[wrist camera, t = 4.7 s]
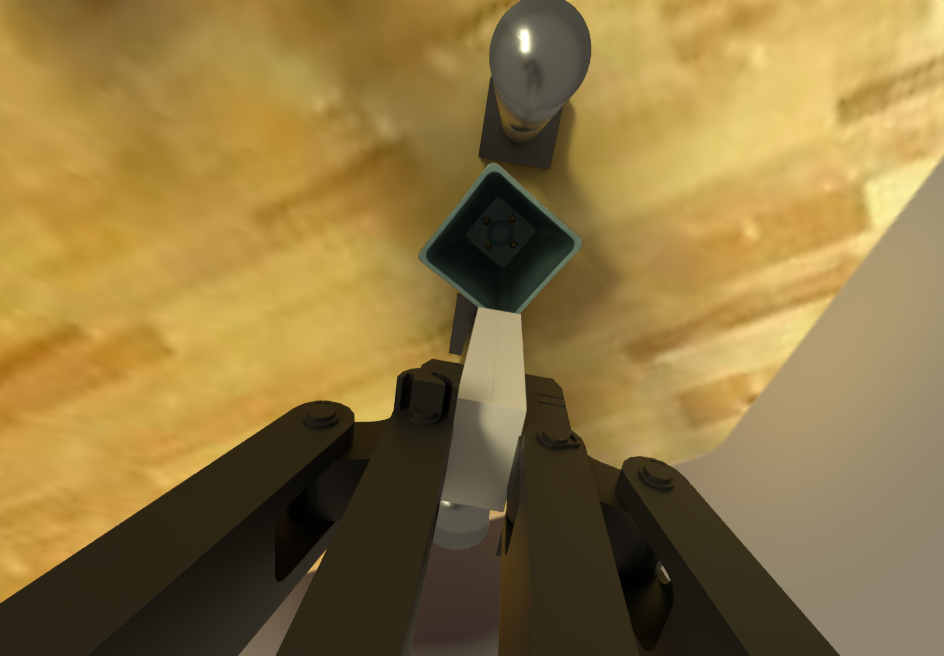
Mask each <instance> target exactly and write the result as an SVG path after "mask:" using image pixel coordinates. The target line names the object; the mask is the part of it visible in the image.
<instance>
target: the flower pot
mask: <svg viewBox="0 0 944 656" xmlns="http://www.w3.org/2000/svg"><path fill="white" fill-rule="evenodd" d="M511 216H513V217H514V218H515V220H514V221H513V222H510V221H509V217H511ZM486 218H488V219H489V224H485V223H484V219H486ZM512 242H516V247H511V243H512ZM487 244H491V246H492V247H491V249H487V248H486V245H487ZM582 245H583V241H582V239H581V238H580V236H579V235H577V234H576V233H575V232H574V231H573V230H572V229H571V228H569V227H568V226H567V225H566V224H565V223H564V222H562V221H561V220H560V219H559V218H558V217H557V216H555V215H554V214H553V213H552V212H551V211H550V210H549V209H548V208H546V207H545V206H544V205H543V204H542V203H541V202H540V201H539V200H537V199H536V198H535V197H534V196H533V195H532V194H531V193H530V192H529V191H527V190H526V189H525V188H524V187H523V186H522V185H521V184H520V183H519V182H518V181H516V180H515V179H514V178H513V177H512V176H511V175H510V174H509V173H508V172H507V171H506V170H505V169H503V168H502V167H501V166H500V165H499V164H497V163H490V164H489V165H487V166H486V168H485V169H484V170H483V171H482V173H481V174H480V176H479V177H478V178H477V179H476V181H475V182H474V183H473V185H472V186H471V187H470V189H469V190H468V191H467V193H466V194H465V195H464V196H463V198H462V199H461V200H460V202H459V203H458V204H457V206H456V207H455V208H454V209H453V211H452V212H451V213H450V214H449V216H448V217H447V218H446V219H445V221H444V222H443V223H442V224H441V226H440V227H439V228H438V229H437V231H436V232H435V233H434V234H433V236H432V237H431V238H430V239H429V241H428V242H427V243H426V244H425V245H424V247H423V248H422V249H421V251H420V252H419V255H418V258H419V260H420V261H421V262H422V263H423V264H425V265H426V266H427V267H428V268H430V269H431V270H432V271H433V272H435V273H436V274H437V275H438V276H440V277H441V278H442V279H444V280H445V281H446V282H448V283H449V284H450V285H451V286H452V287H454V288H455V289H456V290H457V291H459V292H460V293H461V294H462V295H463V296H465V297H466V298H467V299H468V300H470V301H471V302H472V303H473V304H475V305H476V306H477V307H482V308H487V309H493V310H499V311H504V312H510V313H516V314H521V312H522V311H523V310H524V309H525V308H526V307H527V306H528V305H529V303H530V302H531V301H532V300H533V299H534V298H535V297H536V296H537V295H538V294H539V293H540V291H541V290H542V289H543V288H544V287H545V286H546V285H547V284H548V283H549V282H550V281H551V279H552V278H553V277H554V276H555V275H556V274H557V273H558V272H559V271H560V270H561V269H562V268H563V267H564V266H565V265H566V263H567V262H568V261H569V260H570V259H571V258H572V257H573V256H574V255H575V254H576V253H577V252H578V251H579V250H580V248H581V247H582Z"/></svg>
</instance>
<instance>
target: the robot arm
mask: <svg viewBox="0 0 944 656" xmlns="http://www.w3.org/2000/svg"><path fill="white" fill-rule="evenodd" d="M506 499H507V510H506V514H505V519H504V523H503V527H502V532H501V536H500V541H499V545H498V549H497V553H496V555H498V556H501V581H500V613H499V645H498V656H840V655H839V654H838V653H837V652H836V651H835V649H834V648H833V647H832V646H831V645H830V644H829V642H828V641H827V640H826V639H825V638H824V637H823V636H822V634H821V633H820V632H819V631H818V630H817V629H816V627H815V626H814V625H813V624H812V623H811V622H810V621H809V620H808V619H807V617H806V616H805V615H804V614H803V613H802V611H801V610H800V609H799V608H798V607H797V606H796V605H795V603H794V602H793V601H792V600H791V599H790V598H789V597H788V595H787V594H786V593H785V592H784V591H783V590H782V588H781V587H780V586H779V585H778V584H777V583H776V582H775V580H774V579H773V578H772V577H771V576H770V575H769V573H768V572H767V571H766V570H765V569H764V568H763V567H762V565H761V564H760V563H759V562H758V561H757V560H756V558H755V557H754V556H753V555H752V554H751V553H750V552H749V550H748V549H747V548H746V547H745V546H744V545H743V544H742V542H741V541H740V540H739V539H738V538H737V537H736V535H735V534H734V533H733V532H732V531H731V530H730V529H729V527H728V526H727V525H726V524H725V523H724V522H723V521H722V519H721V518H720V517H719V516H718V515H717V514H716V513H715V511H714V510H713V509H712V508H711V507H710V506H709V504H708V503H707V502H706V501H705V500H704V499H703V498H702V497H701V495H700V494H699V493H698V492H697V491H696V489H695V488H694V487H693V486H692V485H691V484H690V483H689V481H688V480H687V479H686V478H685V477H684V476H683V475H682V474H680V473H679V472H678V471H677V470H676V469H674V468H672V467H671V466H669V465H667V464H666V463H664V462H662V461H660V460H659V461H658V460H657V459H653V458H647V457H641V456H638V457H630V458H628V459H627V460H625V461H624V463H623V466H622V469H621V470H620V469H617V468H614V467H612V466H609V465H607V464H604V463H602V462H599V461H597V460H595V459H593V458H592V457H590V456H588V455H587V451H586V447H585V444H584V442H583V441H582V439H581V438H580V437H579V436H578V435H577V434H576V433H575V432H573V431H572V430H571V427H570V423H569V418H568V414H567V409H566V405H565V401H564V396H563V392H562V388H561V387H560V386H559V385H558V384H557V383H556V382H555V381H554V380H553V379H550V378H544V377H539V376H533V375H528V374H524V357H523V341H522V324H521V314H516V313H510V312H504V311H499V310H493V309H487V308H482V307H478V311H477V315H476V319H475V323H474V327H473V332H472V336H471V340H470V344H469V348H468V352H467V356H466V361H465V365H464V364H459V363H453V362H448V361H442V360H437V359H431V360H429V361H428V362H426V363H424V364H423V365H422V366H421V368H415V369H409V370H406V371H404V372H402V373H401V374H400V375H399V376H398V377H397V385H396V394H395V403H394V411H393V413H392V415H391V417H390V418H388V419H385V420H381V421H374V422H355V419H354V413H353V412H352V411H351V409H350V408H349V407H347V406H345V405H343V404H341V403H336V402H331V401H323V400H322V401H313V402H308V403H304V404H302V405H299V406H297V407H295V408H293V409H292V410H290V411H289V412H287V413H286V414H284V415H283V416H281V417H280V418H278V419H277V420H275V421H274V422H272V423H271V424H269V425H268V426H266V427H265V428H263V429H262V430H260V431H259V432H257V433H256V434H254V435H253V436H251V437H250V438H248V439H247V440H245V441H244V442H242V443H241V444H239V445H238V446H236V447H235V448H233V449H232V450H230V451H229V452H227V453H226V454H224V455H223V456H221V457H220V458H218V459H217V460H215V461H214V462H212V463H211V464H209V465H208V466H206V467H205V468H203V469H202V470H200V471H199V472H197V473H196V474H194V475H193V476H191V477H190V478H188V479H187V480H185V481H184V482H182V483H181V484H179V485H178V486H176V487H175V488H173V489H172V490H170V491H168V492H167V493H165V494H164V495H162V496H161V497H159V498H158V499H156V500H155V501H153V502H152V503H150V504H149V505H147V506H146V507H144V508H143V509H141V510H140V511H138V512H137V513H135V514H134V515H132V516H131V517H129V518H128V519H126V520H125V521H123V522H122V523H120V524H119V525H117V526H116V527H114V528H113V529H111V530H110V531H108V532H107V533H105V534H104V535H102V536H101V537H99V538H98V539H96V540H95V541H93V542H92V543H90V544H89V545H87V546H86V547H84V548H83V549H81V550H80V551H78V552H77V553H75V554H74V555H72V556H71V557H69V558H68V559H66V560H65V561H63V562H62V563H60V564H59V565H57V566H56V567H54V568H53V569H51V570H50V571H48V572H47V573H45V574H44V575H42V576H41V577H39V578H38V579H36V580H35V581H33V582H32V583H30V584H29V585H27V586H26V587H24V588H23V589H21V590H20V591H18V592H17V593H15V594H14V595H12V596H11V597H9V598H8V599H6V600H5V601H3V602H2V603H0V656H238V655H239V654H240V653H241V651H242V650H243V649H244V648H245V647H246V645H247V644H248V643H249V642H250V641H251V639H252V638H253V637H254V636H255V635H256V633H257V632H258V631H259V630H260V628H261V627H262V626H263V625H264V624H265V623H266V621H267V620H268V619H269V617H271V615H272V614H273V613H274V612H275V611H276V609H277V608H278V607H279V606H280V604H281V603H282V602H283V601H284V599H285V598H286V597H287V596H288V595H289V594H290V592H291V591H292V590H293V589H294V587H295V586H296V585H297V584H298V583H299V582H300V580H301V579H302V578H303V577H304V576H305V574H306V573H307V572H308V571H309V570H310V568H311V567H312V566H313V565H314V564H315V562H316V561H317V560H318V559H319V557H320V556H321V555H322V554H323V553H324V551H325V550H326V549H327V550H326V552H325V554H324V556H323V558H322V561H321V563H320V565H319V567H318V569H317V571H316V573H315V575H314V577H313V579H312V581H311V583H310V586H309V588H308V590H307V592H306V594H305V596H304V598H303V600H302V602H301V604H300V606H299V608H298V611H297V613H296V615H295V617H294V619H293V621H292V623H291V625H290V627H289V629H288V631H287V633H286V635H285V638H284V640H283V642H282V644H281V646H280V648H279V650H278V652H277V654H276V656H409V653H410V648H411V643H412V638H413V634H414V629H415V624H416V619H417V614H418V610H419V605H420V600H421V595H422V590H423V586H424V581H425V576H426V571H427V567H428V562H429V557H430V552H431V547H432V543H433V538H434V533H435V528H436V523H437V519H438V513H439V507H440V501H446V502H452V503H457V504H462V505H468V506H473V507H478V508H484V509H489V510H494V511H500V512H504V507H505V503H506ZM662 565H663V567H664V568H665V570H666V572H667V573H668V575H669V578H670V580H671V581H669V580H668V579H667V578H666V576H665V575H664V573H663V572H662V570H661V567H662Z"/></svg>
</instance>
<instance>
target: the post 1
mask: <svg viewBox="0 0 944 656" xmlns="http://www.w3.org/2000/svg"><path fill="white" fill-rule="evenodd" d="M477 311H478V307H477V306H476V305H475V304H473V303H472V302H471V301H470V300H468V299H467V298H466V297H465V296H463V295H462V294H461V293H460V292H458V296H457V302H456V309H455V316H454V322H453V329H452V335H451V342H450V349H449V353H451V354H457V355H462V356H461V360H460V363H459V364H464V365H465V361H466V356H467V352H468V348H469V344H470V340H471V336H472V332H473V327H474V323H475V319H476V315H477ZM489 511H490V510H489V509H484V508H478V507H473V506H468V505H462V504H457V503H452V502H446V501H440V507H439V513H438V519H437V523H436V528H435V533H434V538H433V543H435V544H437V545H439V546H441V547H444V548H447V549H453V550H462V549H467V548H471V547H473V546H475V545H477V544H479V543H480V542H481V541H482V540H483V539H484V538H485V536H486V534H487V531H488V526H489Z"/></svg>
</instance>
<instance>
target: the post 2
mask: <svg viewBox="0 0 944 656" xmlns="http://www.w3.org/2000/svg"><path fill="white" fill-rule="evenodd" d="M590 58H591V39H590V34H589V31H588V28H587V25H586V23H585V21H584V19H583V17H582V16H581V14H580V13H579V12H578V11H577V9H576V8H575V7H574V6H572V5H571V4H570V3H569V2H567V1H565V0H521V1H520V2H518V3H516V4H515V5H514V6H512V7H511V8H510V9H509V10H508V11H507V12H506V13H505V14H504V16H503V17H502V18H501V20H500V21H499V23H498V24H497V26H496V29H495V31H494V33H493V36H492V40H491V44H490V52H489V62H490V69H491V74H492V77H491V78H490V84H489V91H488V98H487V104H486V111H485V117H484V124H483V131H482V137H481V144H480V150H479V157H480V158H486V159H492V160H498V161H504V162H510V163H516V164H522V165H528V166H534V167H540V168H546V169H550V166H551V161H552V156H553V151H554V146H555V141H556V136H557V132H558V127H559V122H560V117H561V112H562V107H563V105H564V104H565V103H566V102H567V101H568V99H569V98H570V97H571V96H572V95H573V94H574V93H575V92H576V90H577V89H578V88H579V86H580V85H581V83H582V82H583V80H584V78H585V76H586V73H587V71H588V67H589V64H590Z"/></svg>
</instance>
